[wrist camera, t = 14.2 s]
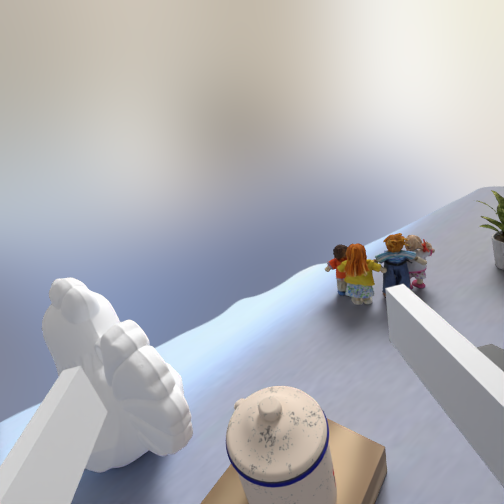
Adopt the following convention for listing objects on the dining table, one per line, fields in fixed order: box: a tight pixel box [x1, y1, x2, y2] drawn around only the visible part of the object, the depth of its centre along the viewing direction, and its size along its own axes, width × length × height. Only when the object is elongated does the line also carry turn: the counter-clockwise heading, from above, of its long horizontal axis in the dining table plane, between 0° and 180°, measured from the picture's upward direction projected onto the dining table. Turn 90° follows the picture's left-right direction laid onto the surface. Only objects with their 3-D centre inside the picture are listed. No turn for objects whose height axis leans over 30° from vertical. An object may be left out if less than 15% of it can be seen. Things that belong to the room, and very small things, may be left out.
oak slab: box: [201, 419, 387, 504], centre depth 32 cm, size 13×15×4 cm
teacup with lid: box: [226, 386, 337, 504], centre depth 30 cm, size 12×9×12 cm
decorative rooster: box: [42, 278, 193, 473], centre depth 39 cm, size 25×16×25 cm, turn 39°
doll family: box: [325, 233, 435, 305], centre depth 60 cm, size 21×10×13 cm, turn 81°
